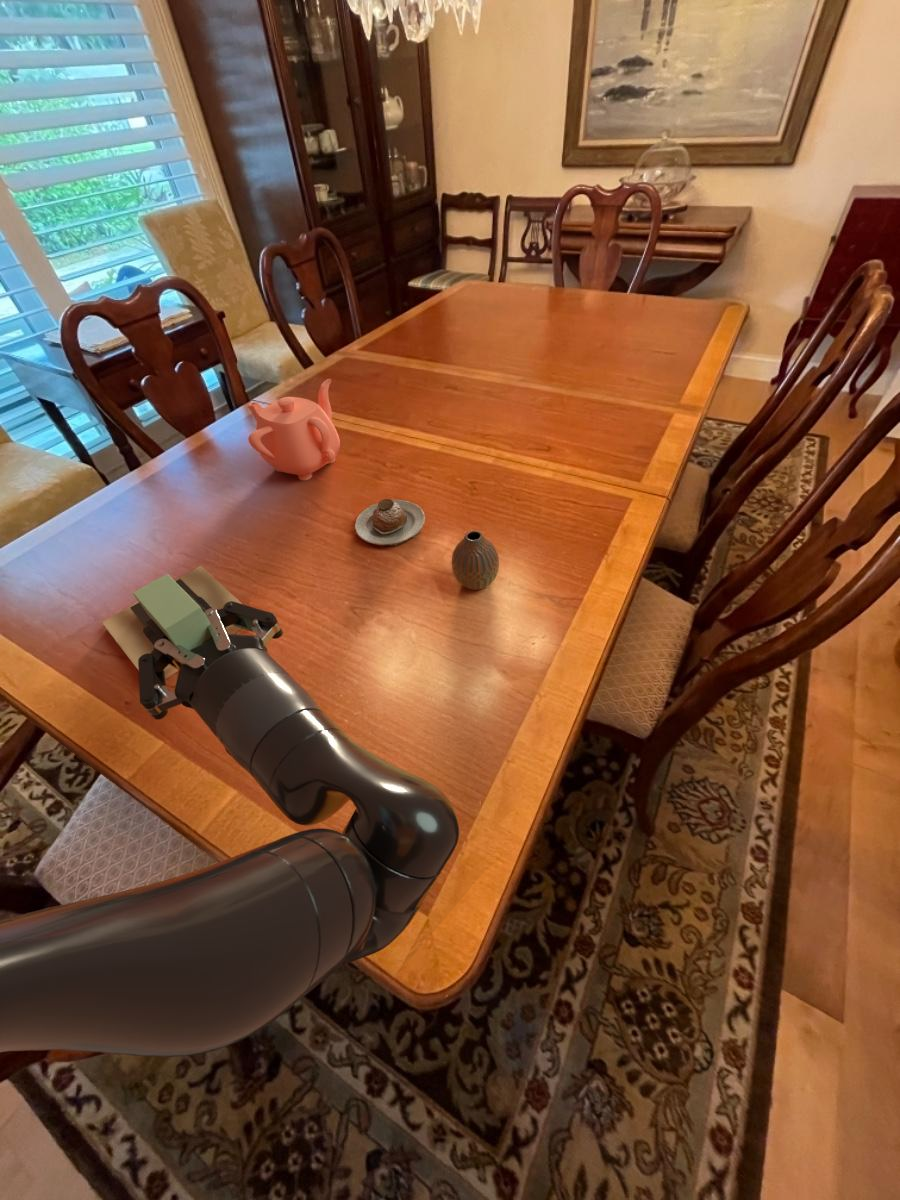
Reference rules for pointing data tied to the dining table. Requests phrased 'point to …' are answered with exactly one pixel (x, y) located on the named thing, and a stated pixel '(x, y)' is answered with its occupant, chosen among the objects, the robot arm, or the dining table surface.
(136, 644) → the seat base
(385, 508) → the pastry
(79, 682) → the dining table surface
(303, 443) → the teapot
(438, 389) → the dining table surface
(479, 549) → the vase
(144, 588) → the green rectangular block
